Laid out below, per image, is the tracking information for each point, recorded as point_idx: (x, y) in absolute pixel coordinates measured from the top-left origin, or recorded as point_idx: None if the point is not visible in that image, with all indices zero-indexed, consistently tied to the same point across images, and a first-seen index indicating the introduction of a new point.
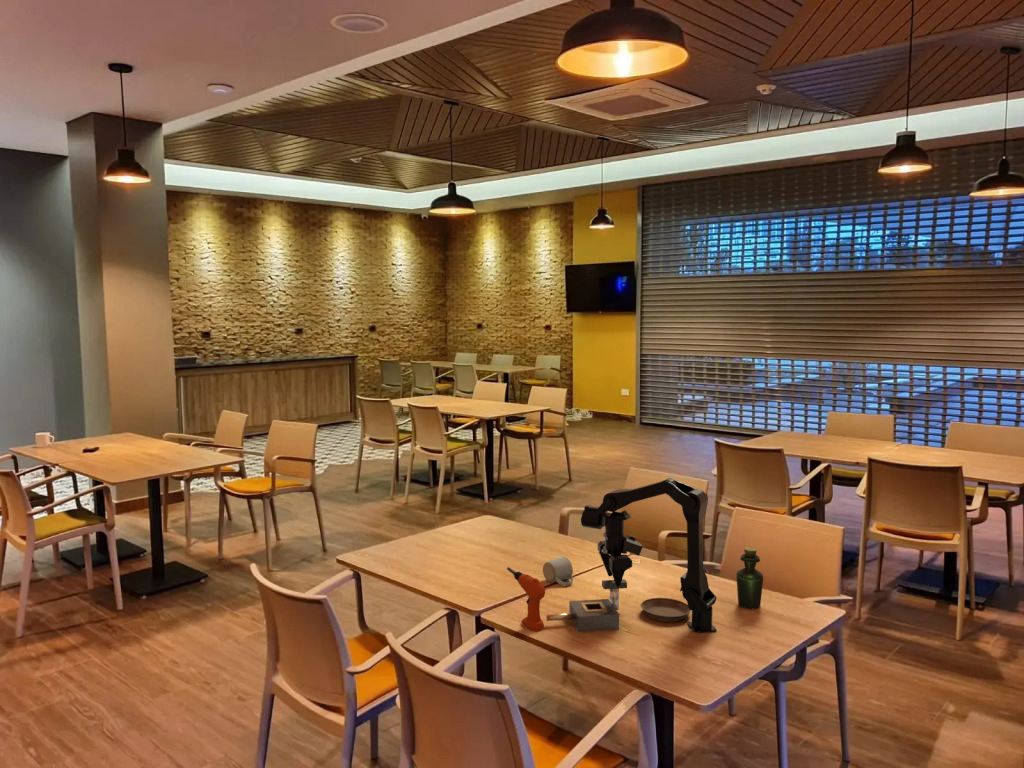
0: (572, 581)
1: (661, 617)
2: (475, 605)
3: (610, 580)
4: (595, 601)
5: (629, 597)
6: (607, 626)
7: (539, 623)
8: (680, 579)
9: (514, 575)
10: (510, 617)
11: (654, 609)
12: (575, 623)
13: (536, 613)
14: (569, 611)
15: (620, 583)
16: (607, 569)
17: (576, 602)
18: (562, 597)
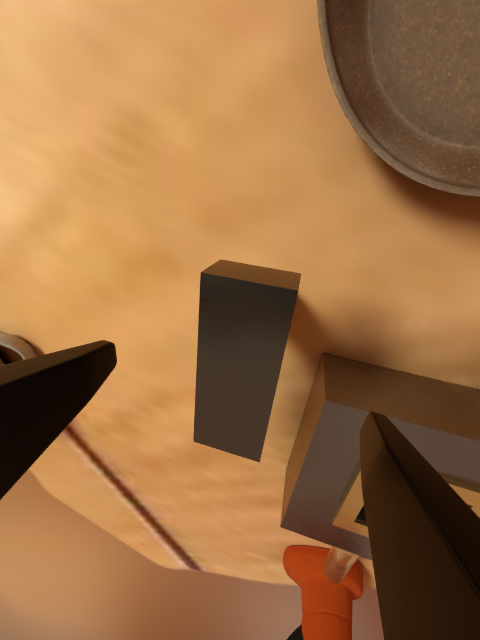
0: (12, 342)
1: None
2: (164, 562)
3: (205, 396)
4: (330, 464)
5: (154, 150)
6: None
7: (361, 593)
8: None
9: None
10: (247, 559)
11: (410, 42)
12: None
13: (351, 633)
14: (285, 483)
15: (407, 443)
16: (70, 413)
17: (307, 520)
18: (132, 412)
